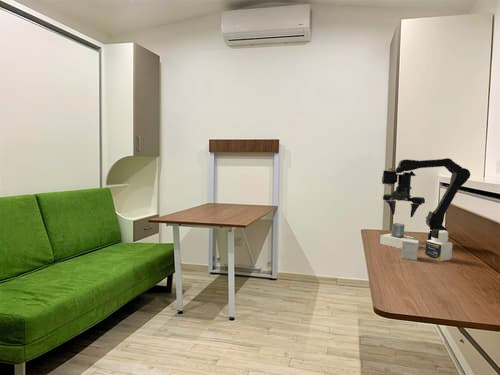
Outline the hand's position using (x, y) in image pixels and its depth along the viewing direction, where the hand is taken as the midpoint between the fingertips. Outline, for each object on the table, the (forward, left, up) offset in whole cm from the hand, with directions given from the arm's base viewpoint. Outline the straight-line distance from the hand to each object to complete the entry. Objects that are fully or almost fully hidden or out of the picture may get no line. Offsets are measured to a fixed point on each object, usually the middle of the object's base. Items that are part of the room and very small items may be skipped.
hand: (402, 216), depth 174 cm
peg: (-3, +9, -13) cm, 16 cm away
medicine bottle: (-25, +16, -13) cm, 32 cm away
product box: (-18, +26, -13) cm, 34 cm away
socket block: (-3, +9, -13) cm, 16 cm away
